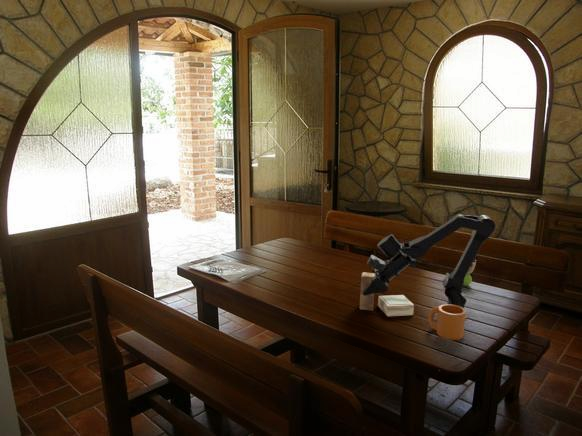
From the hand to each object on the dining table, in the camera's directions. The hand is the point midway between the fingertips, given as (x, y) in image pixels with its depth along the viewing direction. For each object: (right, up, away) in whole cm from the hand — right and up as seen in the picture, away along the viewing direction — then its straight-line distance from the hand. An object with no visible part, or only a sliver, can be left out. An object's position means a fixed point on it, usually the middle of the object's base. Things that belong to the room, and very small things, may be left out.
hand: (363, 290), depth 181 cm
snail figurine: (+49, -2, +28) cm, 57 cm away
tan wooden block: (+1, -7, +1) cm, 7 cm away
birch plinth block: (+12, -7, -1) cm, 14 cm away
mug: (+25, -12, -18) cm, 33 cm away
